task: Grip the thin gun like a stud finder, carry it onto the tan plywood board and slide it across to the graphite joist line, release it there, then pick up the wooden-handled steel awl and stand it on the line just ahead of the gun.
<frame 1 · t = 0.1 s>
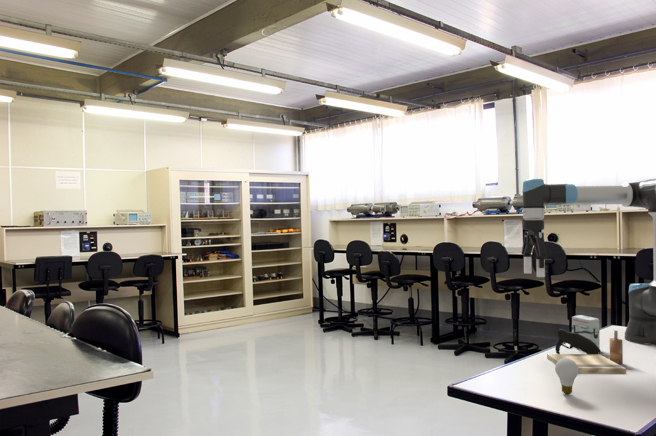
hand: (534, 275, 191), 28 cm above the table, fingers open, 13 cm apart
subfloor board: (584, 365, 167), on the table
ink box: (585, 348, 190), on the table
gun: (578, 356, 180), on the table
light bulb: (567, 395, 139), on the table
awl: (616, 363, 170), on the table
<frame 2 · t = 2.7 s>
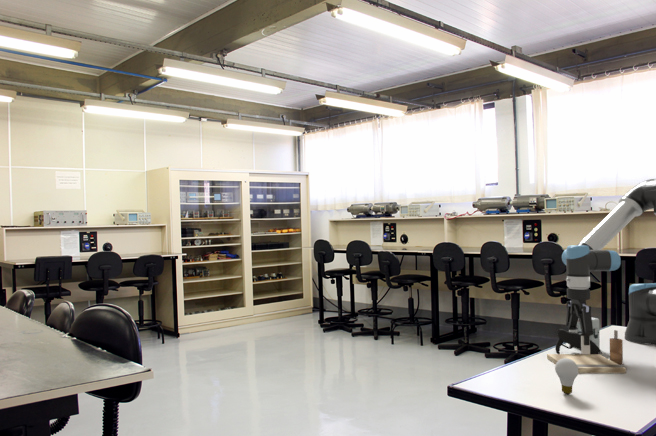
hand: (579, 350, 180), 2 cm above the table, fingers open, 9 cm apart
nothing on the table moved.
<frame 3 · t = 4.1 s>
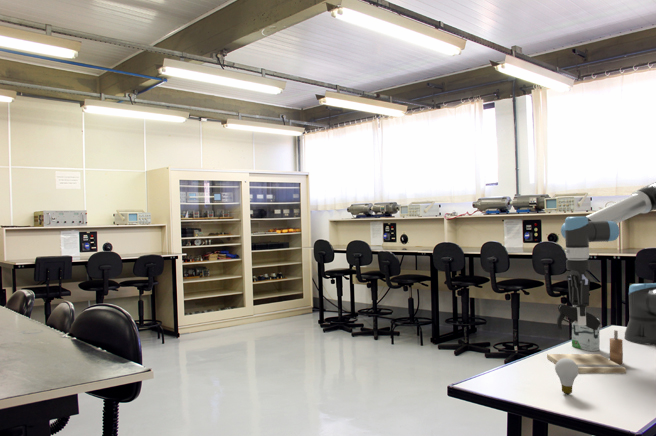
hand: (579, 323, 180), 11 cm above the table, fingers closed on gun, 3 cm apart
gun: (579, 330, 180), point 9 cm above the table, touching gripper
everything else where it was.
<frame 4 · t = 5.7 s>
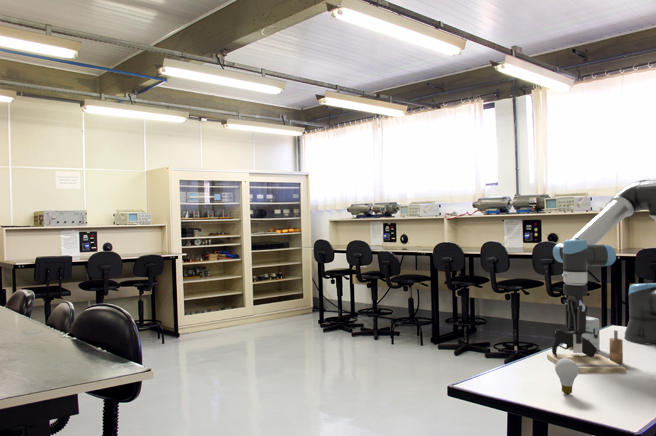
hand: (575, 351, 174), 3 cm above the table, fingers closed on gun, 3 cm apart
gun: (575, 356, 173), point 1 cm above the table, touching gripper, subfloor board
everything else where it was.
when the fingers open (3 cm above the table, at t = 7.7 s): gun stays where it is, resting on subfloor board.
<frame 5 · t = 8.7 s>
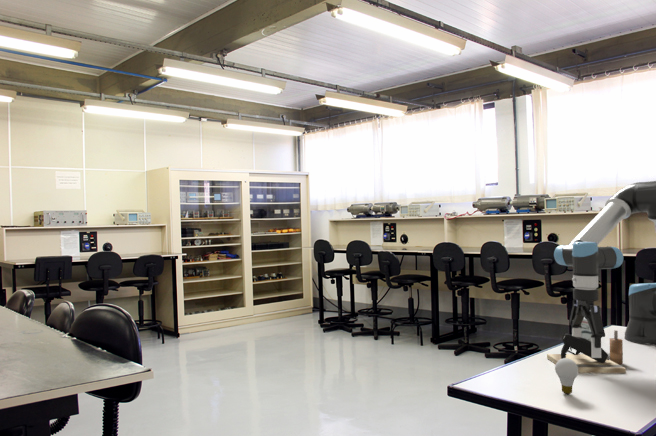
hand: (586, 352, 166), 5 cm above the table, fingers open, 13 cm apart
gun: (585, 362, 166), point 1 cm above the table, touching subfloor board
everything else where it was.
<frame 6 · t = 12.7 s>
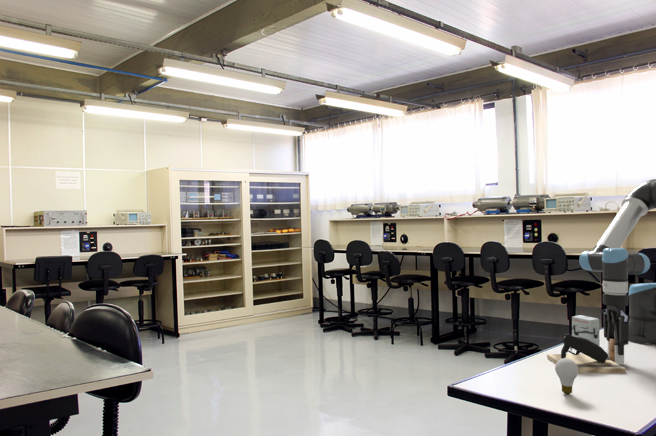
hand: (616, 362, 170), 0 cm above the table, fingers closed on awl, 4 cm apart
awl: (616, 363, 170), on the table, touching gripper
everything else where it was.
when the fingers open (2 cm above the table, at t = 17.9 s): awl stays where it is, resting on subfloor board.
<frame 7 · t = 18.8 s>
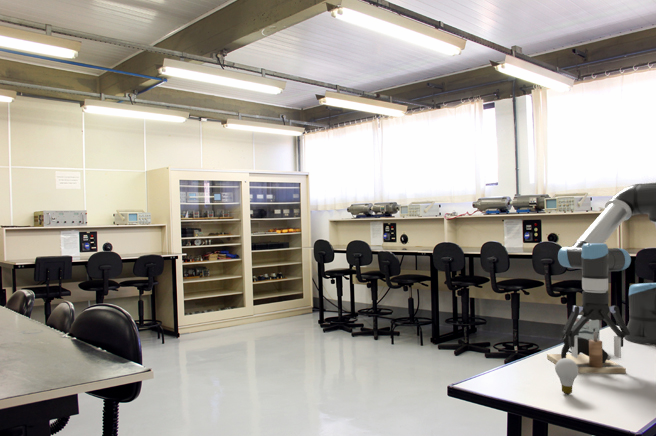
hand: (596, 356, 161), 4 cm above the table, fingers open, 13 cm apart
awl: (595, 365, 161), point 2 cm above the table, touching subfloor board
everything else where it was.
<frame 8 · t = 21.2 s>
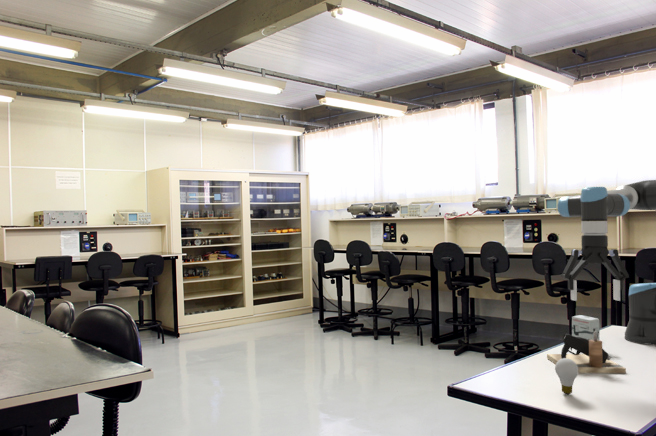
hand: (595, 300, 161), 23 cm above the table, fingers open, 13 cm apart
nothing on the table moved.
at the end: gun inside the target area (0.5 cm from its centre), point 1.3 cm above the table; awl 0.1 cm from the target spot, point 1.5 cm above the table; awl tilted 0° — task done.
